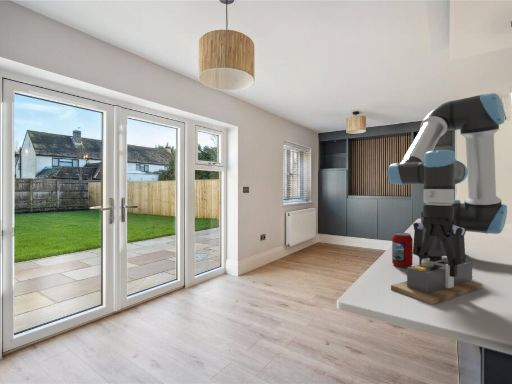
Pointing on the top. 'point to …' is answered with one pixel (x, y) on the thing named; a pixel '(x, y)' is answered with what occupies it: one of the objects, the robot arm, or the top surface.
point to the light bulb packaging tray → (436, 276)
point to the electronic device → (434, 246)
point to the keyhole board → (437, 295)
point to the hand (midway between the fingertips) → (437, 283)
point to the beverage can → (402, 249)
